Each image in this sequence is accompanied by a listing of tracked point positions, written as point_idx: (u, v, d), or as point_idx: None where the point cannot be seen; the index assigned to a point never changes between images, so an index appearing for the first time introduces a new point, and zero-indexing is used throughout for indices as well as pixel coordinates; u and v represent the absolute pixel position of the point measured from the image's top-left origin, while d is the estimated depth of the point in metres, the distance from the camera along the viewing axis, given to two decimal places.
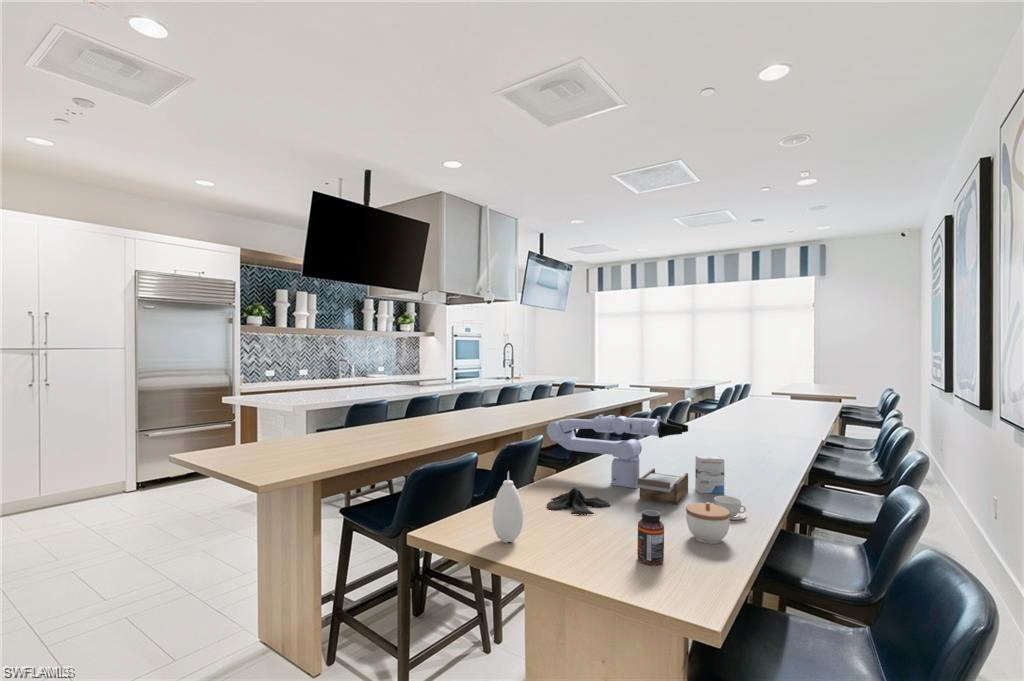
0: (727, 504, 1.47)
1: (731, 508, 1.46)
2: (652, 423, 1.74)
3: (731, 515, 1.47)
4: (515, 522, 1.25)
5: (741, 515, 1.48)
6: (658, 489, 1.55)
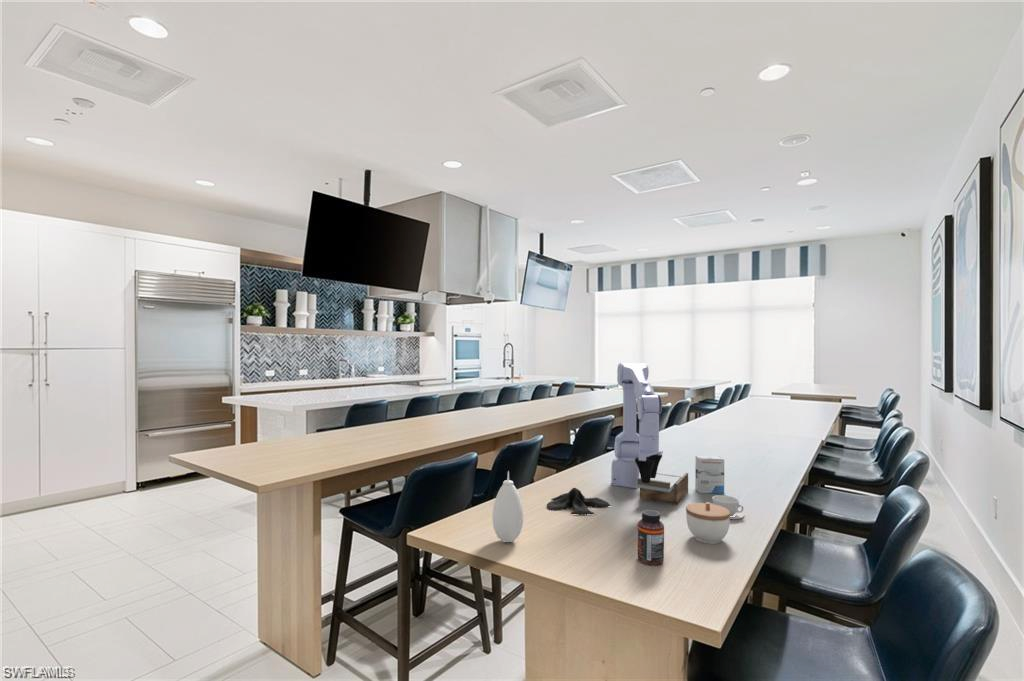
0: (725, 504, 1.47)
1: (729, 507, 1.47)
2: (651, 447, 1.49)
3: None
4: (515, 522, 1.25)
5: (738, 515, 1.49)
6: (658, 489, 1.55)
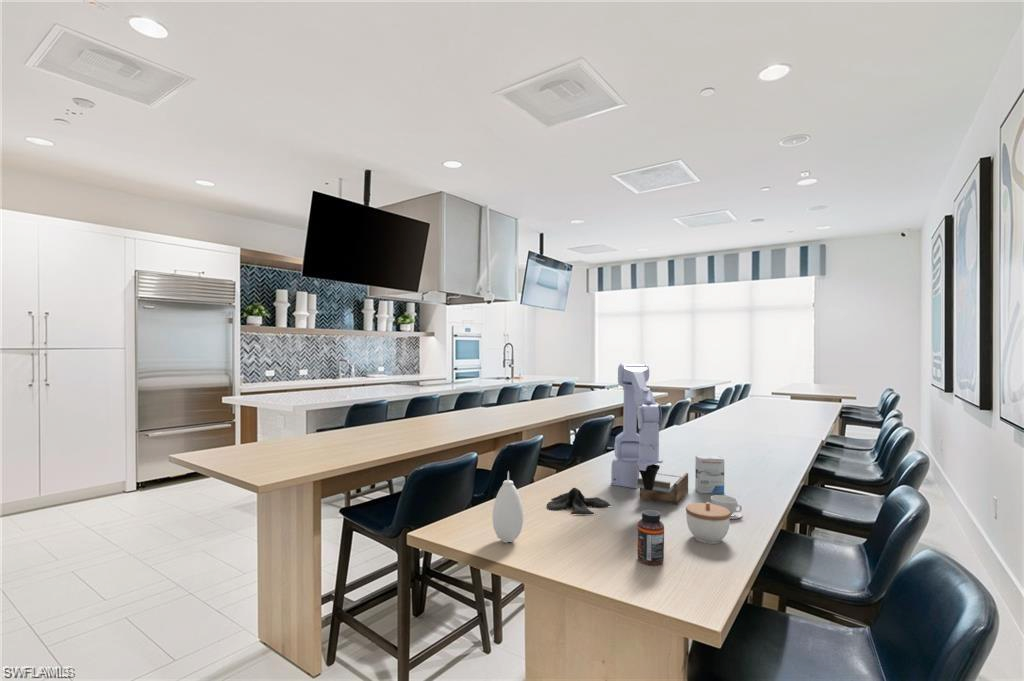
0: (723, 503, 1.47)
1: (727, 507, 1.47)
2: (651, 457, 1.49)
3: None
4: (515, 522, 1.25)
5: (737, 515, 1.49)
6: (658, 489, 1.55)
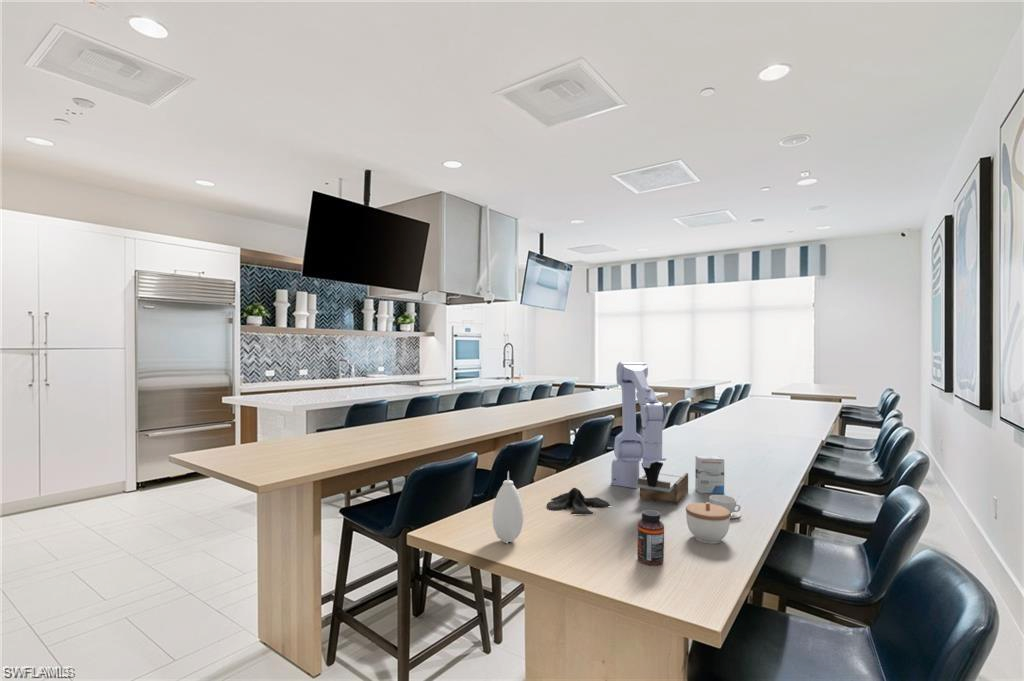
0: (722, 503, 1.47)
1: (726, 507, 1.47)
2: (655, 454, 1.53)
3: None
4: (515, 522, 1.25)
5: (735, 514, 1.49)
6: (658, 489, 1.55)
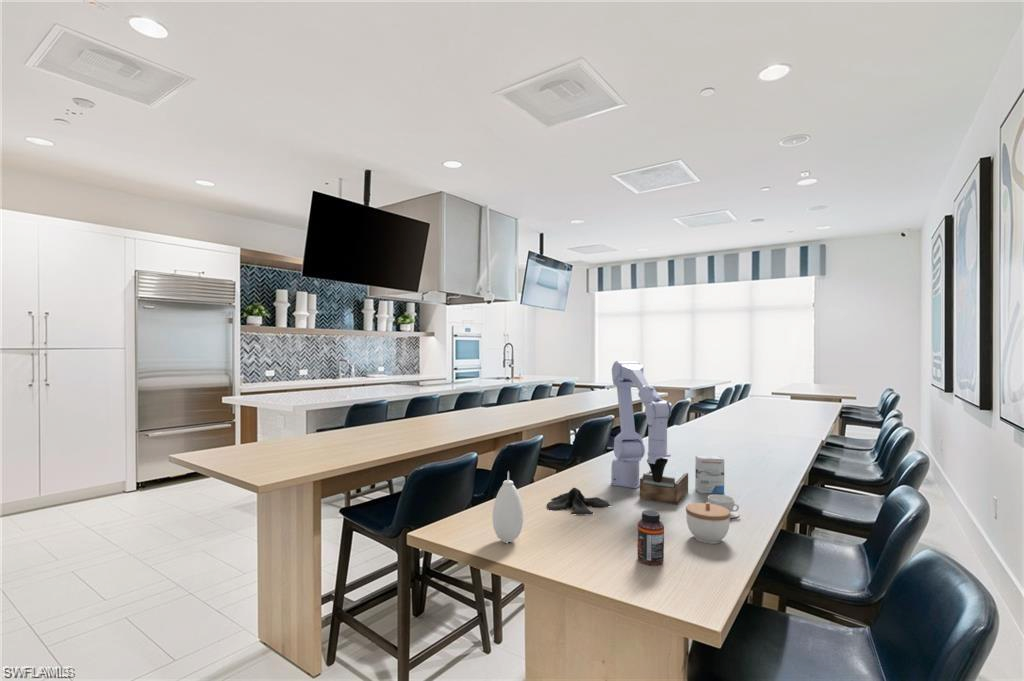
0: (720, 503, 1.48)
1: (724, 506, 1.48)
2: (660, 451, 1.58)
3: None
4: (515, 522, 1.25)
5: (734, 514, 1.50)
6: (663, 484, 1.60)
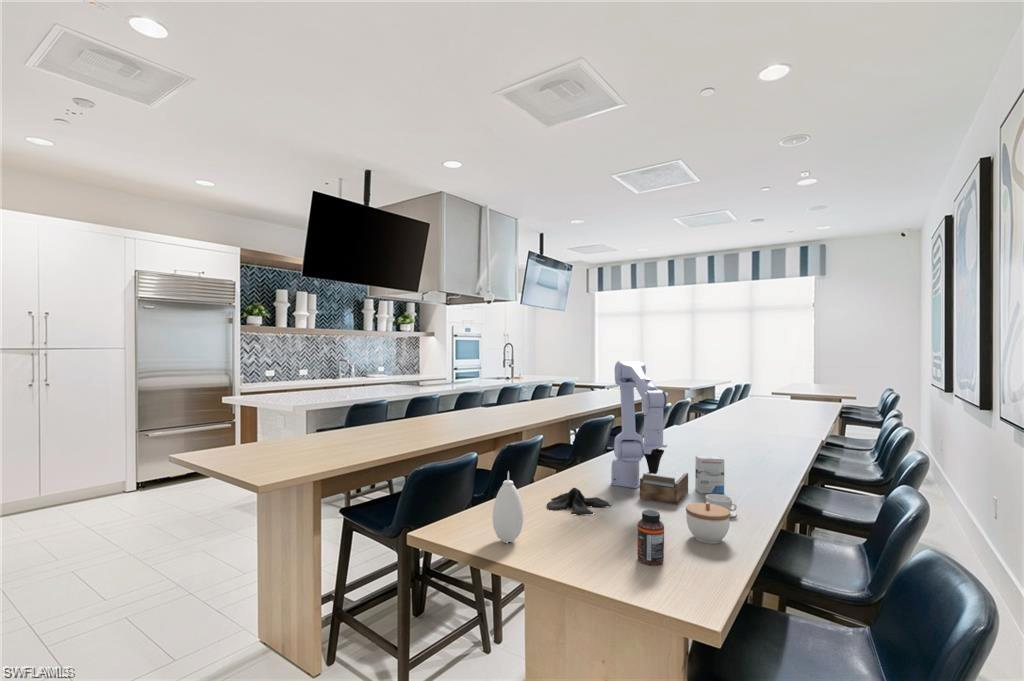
0: (718, 502, 1.48)
1: (722, 506, 1.48)
2: (656, 441, 1.54)
3: None
4: (515, 522, 1.25)
5: (731, 513, 1.50)
6: (663, 484, 1.60)
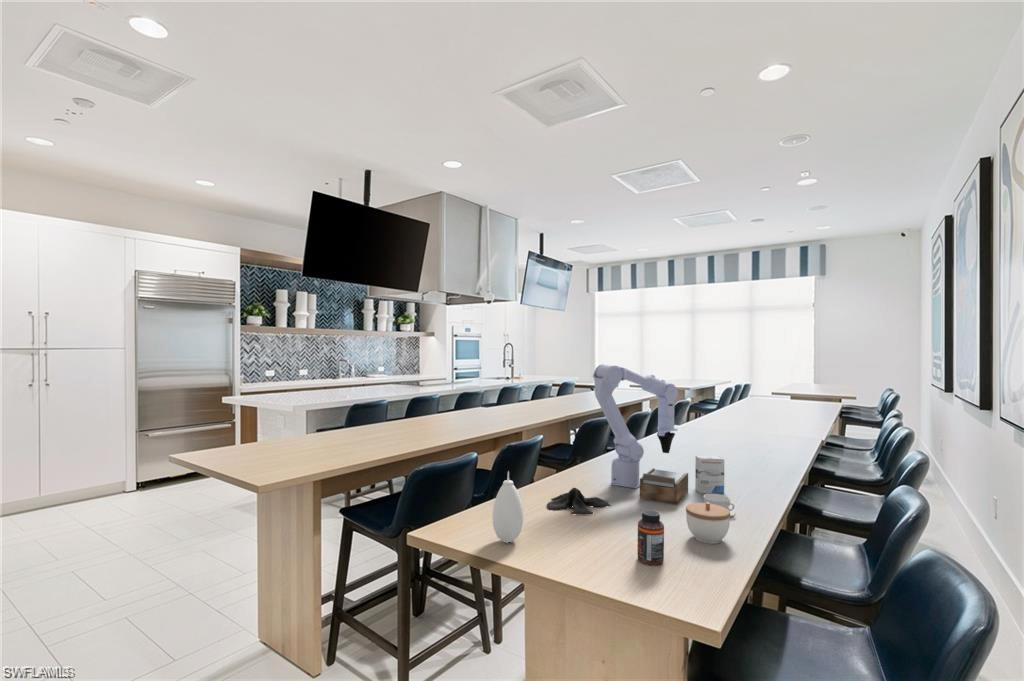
0: (716, 502, 1.49)
1: (720, 505, 1.48)
2: (668, 425, 1.83)
3: None
4: (515, 522, 1.25)
5: None
6: (663, 484, 1.60)
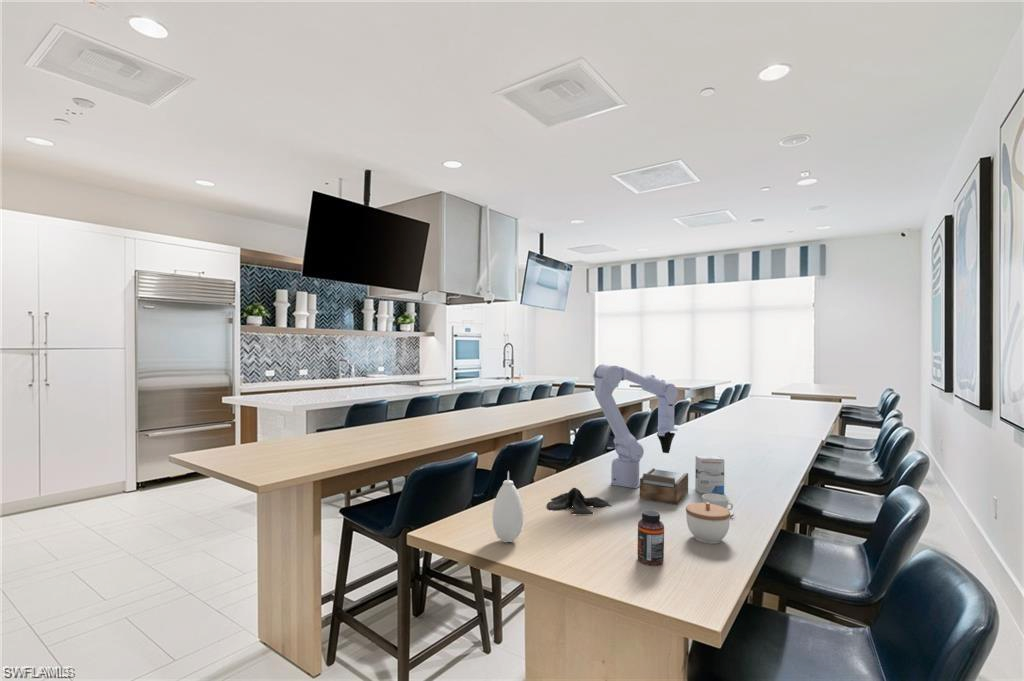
0: (715, 501, 1.49)
1: (719, 505, 1.49)
2: (668, 425, 1.83)
3: None
4: (515, 522, 1.25)
5: None
6: (663, 484, 1.60)
